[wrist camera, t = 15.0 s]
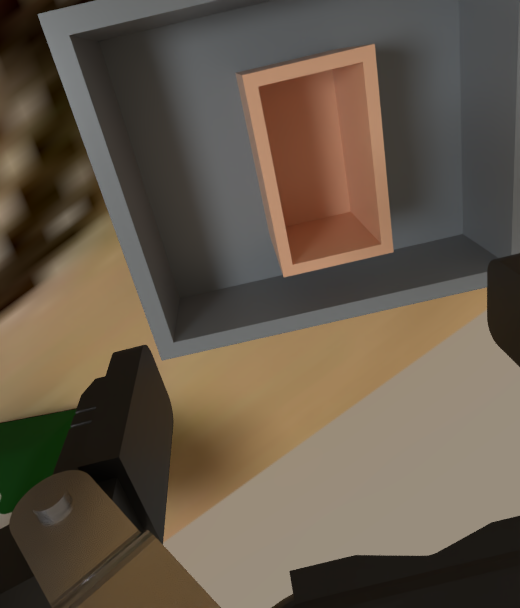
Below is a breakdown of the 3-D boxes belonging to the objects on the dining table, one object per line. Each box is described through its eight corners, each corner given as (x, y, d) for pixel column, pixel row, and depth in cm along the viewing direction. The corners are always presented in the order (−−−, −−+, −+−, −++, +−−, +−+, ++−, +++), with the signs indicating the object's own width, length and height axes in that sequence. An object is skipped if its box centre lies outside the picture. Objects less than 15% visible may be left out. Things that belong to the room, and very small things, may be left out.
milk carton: (121, 476, 42) (52, 786, 24) (17, 496, 42) (-130, 822, 24) (88, 395, 38) (-24, 694, 20) (-27, 417, 38) (-243, 736, 20)
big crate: (78, 26, 27) (37, 14, 21) (467, -66, 27) (545, -106, 20) (170, 307, 35) (161, 360, 29) (470, 239, 35) (527, 278, 28)
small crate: (235, 72, 28) (241, 75, 21) (338, 48, 28) (374, 43, 21) (269, 236, 32) (283, 277, 26) (358, 215, 32) (393, 252, 26)
